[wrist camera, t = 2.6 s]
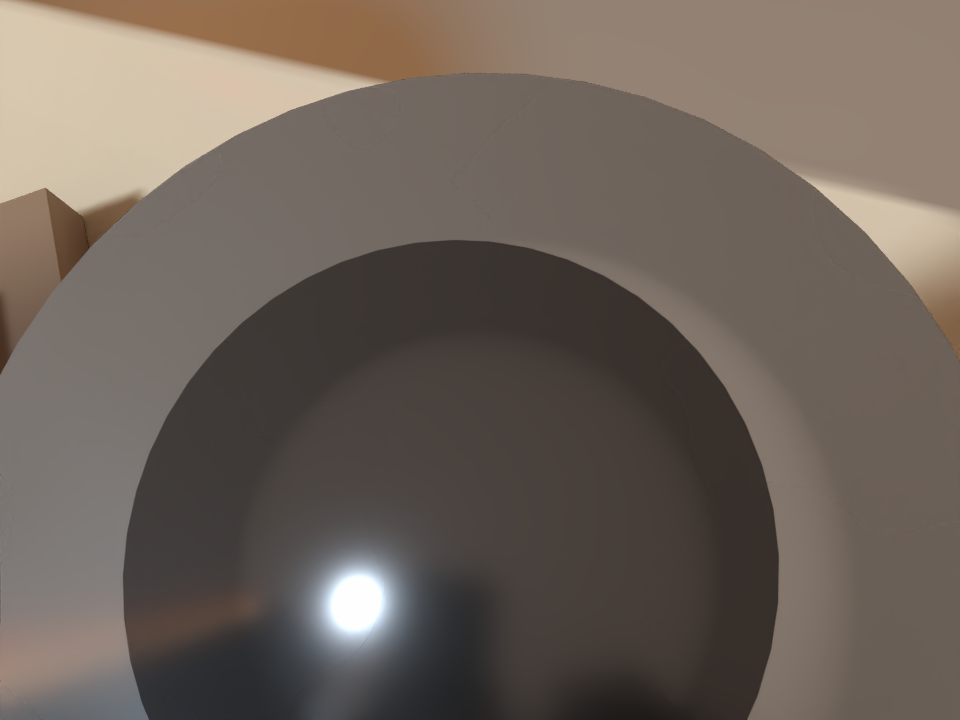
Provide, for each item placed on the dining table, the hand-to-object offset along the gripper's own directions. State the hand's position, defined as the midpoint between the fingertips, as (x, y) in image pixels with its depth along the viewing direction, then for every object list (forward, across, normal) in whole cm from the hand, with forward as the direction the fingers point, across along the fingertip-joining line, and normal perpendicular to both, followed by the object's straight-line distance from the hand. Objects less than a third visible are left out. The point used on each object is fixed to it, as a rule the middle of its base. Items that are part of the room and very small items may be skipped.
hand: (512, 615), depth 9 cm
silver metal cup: (+6, 0, +6) cm, 8 cm away
